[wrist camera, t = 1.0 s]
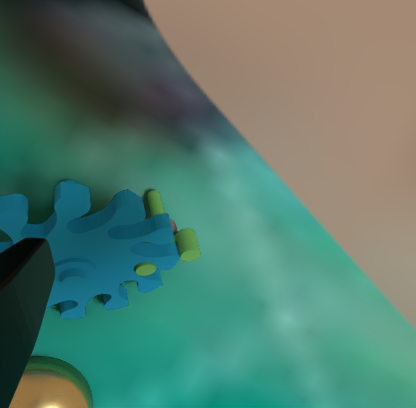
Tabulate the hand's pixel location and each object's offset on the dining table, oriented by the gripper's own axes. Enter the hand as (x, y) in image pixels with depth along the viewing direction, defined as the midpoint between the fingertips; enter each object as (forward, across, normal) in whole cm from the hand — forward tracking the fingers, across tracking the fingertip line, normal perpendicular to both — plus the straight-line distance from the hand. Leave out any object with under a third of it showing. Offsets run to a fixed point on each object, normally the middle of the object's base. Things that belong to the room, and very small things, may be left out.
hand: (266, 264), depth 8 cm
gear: (+11, +8, +9) cm, 16 cm away
